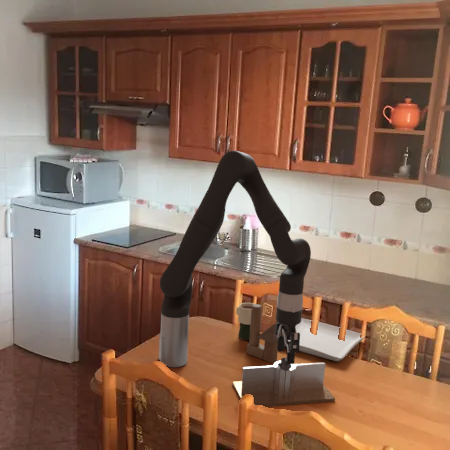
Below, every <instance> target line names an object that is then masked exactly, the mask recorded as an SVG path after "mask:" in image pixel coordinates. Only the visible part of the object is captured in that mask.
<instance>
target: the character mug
mask: <svg viewBox="0 0 450 450" xmlns="http://www.w3.org/2000/svg"><path fill="white" fill-rule="evenodd" d="M253 304H254V303H253V302H242V303H240V304H239V305H238V306H236V312H235V313H236V316H238V317H237V318H238V323H240V325H239V330H238V338H239V339H241V340H244V341H248V340H249V339H250V324H251V309H252V305H253Z"/></svg>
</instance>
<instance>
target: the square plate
mask: <svg viewBox="0 0 450 450" xmlns="http://www.w3.org/2000/svg"><path fill="white" fill-rule="evenodd" d="M311 321H313V320H311V319H307V318H303V317H302V318H301V322H300V323H299V324H297V325H296V326H295V327H296V333H300V344H299V352H302V353H306V354H309V355H313V356H316V357H320V358H323V359H326V360H331V361H334V362H341V361H342V360H343V359H344V358H345V357H347V355H348V354H349V353H350V352H351V350H352V349H354V348H355V347H356V346H357V345H359V343H361V342H362V341H363V339H364V338H365V337H361V338H360V335H361V334H362V333H360V332H356V331H353V330H350V329H346V335H345V341H343V340H339V339H338V335H339V328H341V327H339V326H336V325H331V324H330V323H329V324H328V323H325V322H320V321H318V322H319V323H318V330H317V335H314V334H312V333H311V332H310V328H311ZM288 341H290V340H288ZM285 347H286V348H287V345H285Z"/></svg>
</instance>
